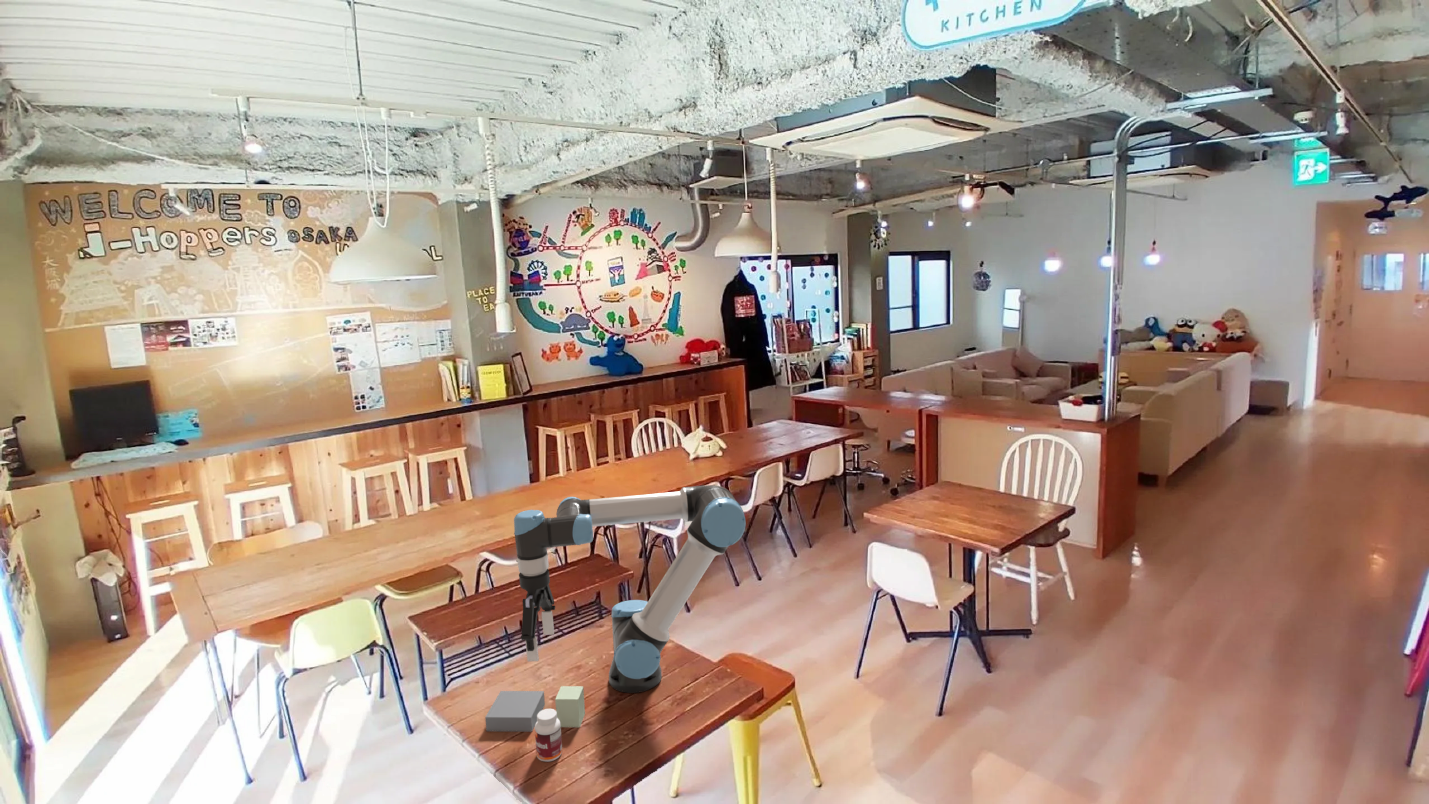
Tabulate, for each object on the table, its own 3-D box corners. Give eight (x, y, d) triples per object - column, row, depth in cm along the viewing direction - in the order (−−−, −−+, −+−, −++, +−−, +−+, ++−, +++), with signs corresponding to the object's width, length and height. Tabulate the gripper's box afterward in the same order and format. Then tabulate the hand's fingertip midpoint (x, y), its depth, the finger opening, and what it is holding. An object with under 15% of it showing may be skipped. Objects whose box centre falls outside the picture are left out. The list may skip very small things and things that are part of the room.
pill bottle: (531, 755, 181) (528, 715, 179) (551, 743, 185) (549, 703, 183) (547, 766, 177) (544, 724, 175) (567, 753, 181) (564, 712, 179)
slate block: (544, 704, 202) (543, 691, 201) (532, 731, 190) (531, 717, 189) (501, 704, 203) (500, 690, 202) (486, 731, 191) (485, 717, 190)
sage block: (585, 713, 197) (583, 686, 196) (579, 727, 192) (578, 699, 190) (562, 713, 198) (561, 686, 196) (557, 727, 192) (555, 699, 190)
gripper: (534, 552, 202) (541, 623, 205) (502, 592, 177) (511, 672, 181) (561, 551, 201) (568, 623, 205) (532, 591, 177) (540, 672, 180)
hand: (541, 646), depth 193 cm, fingers open, 13 cm apart
